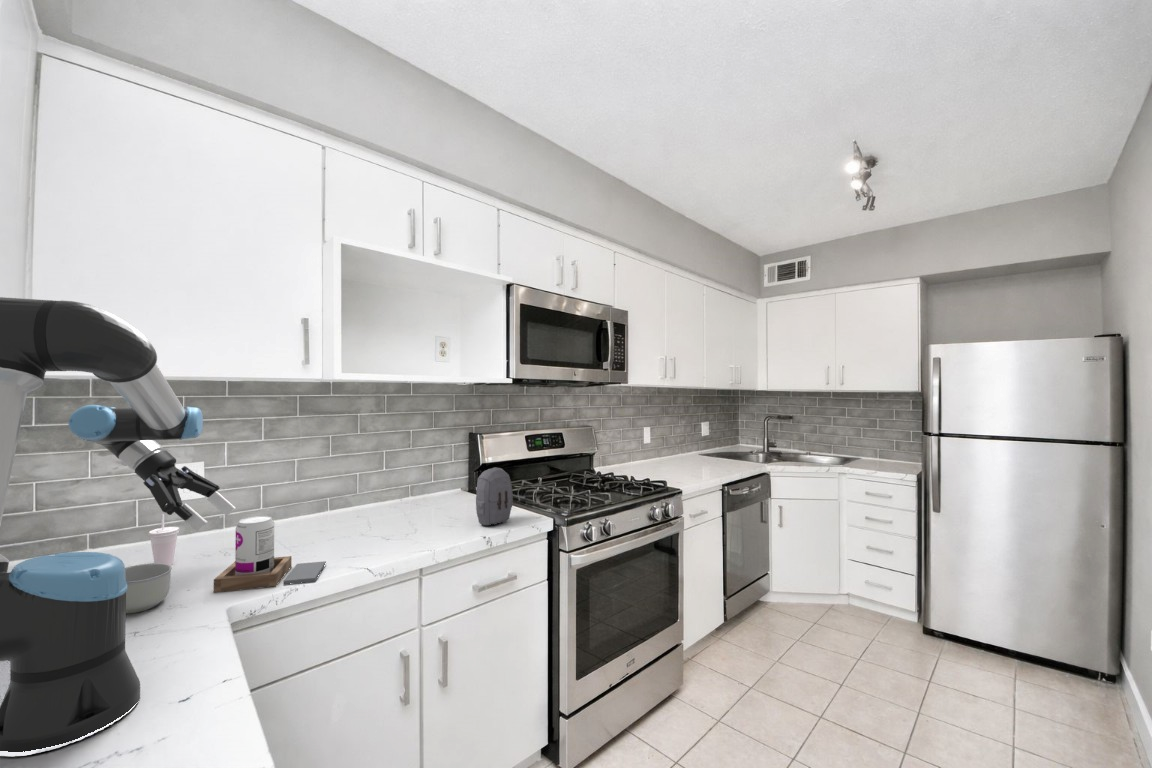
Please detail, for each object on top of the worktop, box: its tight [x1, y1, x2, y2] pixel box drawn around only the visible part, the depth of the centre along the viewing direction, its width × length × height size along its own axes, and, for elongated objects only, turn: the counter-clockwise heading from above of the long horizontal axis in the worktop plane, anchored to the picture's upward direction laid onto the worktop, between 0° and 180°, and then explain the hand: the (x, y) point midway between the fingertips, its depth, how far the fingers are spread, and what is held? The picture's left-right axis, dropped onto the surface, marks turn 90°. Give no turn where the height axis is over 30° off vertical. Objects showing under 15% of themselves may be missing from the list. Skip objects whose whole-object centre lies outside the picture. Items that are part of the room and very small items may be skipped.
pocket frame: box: [213, 555, 292, 593], centre depth 123 cm, size 13×13×3 cm
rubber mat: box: [282, 560, 327, 585], centre depth 126 cm, size 12×7×1 cm, turn 16°
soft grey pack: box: [475, 467, 514, 526], centre depth 173 cm, size 15×8×20 cm, turn 142°
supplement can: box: [234, 515, 275, 576], centre depth 123 cm, size 8×8×15 cm
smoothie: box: [148, 513, 180, 567], centre depth 132 cm, size 6×6×14 cm
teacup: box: [125, 562, 173, 614], centre depth 106 cm, size 14×11×8 cm
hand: (217, 519), depth 122 cm, fingers open, 13 cm apart
